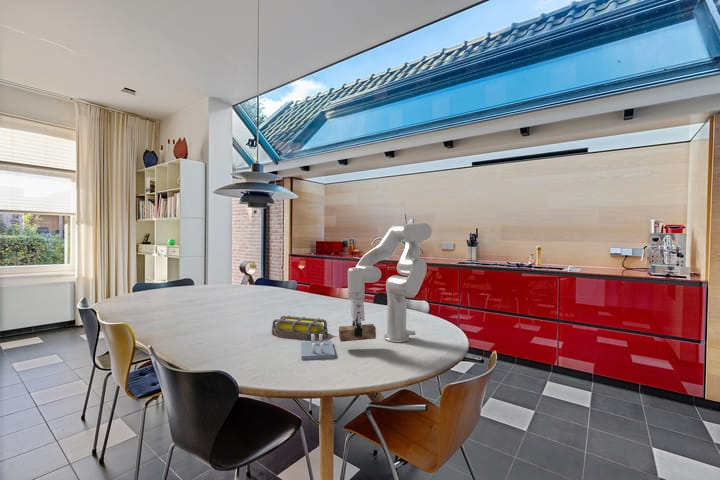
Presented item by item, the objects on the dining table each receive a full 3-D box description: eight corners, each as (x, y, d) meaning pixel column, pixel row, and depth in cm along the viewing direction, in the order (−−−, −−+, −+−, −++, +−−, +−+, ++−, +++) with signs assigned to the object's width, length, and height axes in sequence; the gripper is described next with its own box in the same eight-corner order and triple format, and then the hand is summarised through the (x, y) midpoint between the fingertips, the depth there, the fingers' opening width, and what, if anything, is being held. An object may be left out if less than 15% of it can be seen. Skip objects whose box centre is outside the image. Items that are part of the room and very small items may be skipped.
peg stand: (331, 343, 156) (331, 332, 155) (335, 358, 138) (335, 345, 138) (301, 345, 153) (301, 333, 153) (301, 359, 135) (301, 346, 135)
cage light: (280, 313, 181) (331, 318, 172) (280, 328, 181) (331, 333, 173) (266, 320, 166) (321, 325, 158) (266, 336, 167) (320, 342, 159)
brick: (373, 334, 153) (372, 323, 153) (375, 338, 148) (375, 327, 147) (339, 337, 151) (338, 326, 150) (340, 341, 145) (340, 330, 144)
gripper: (368, 298, 140) (369, 339, 141) (361, 290, 157) (361, 327, 158) (351, 299, 139) (351, 341, 140) (345, 291, 156) (346, 328, 157)
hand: (357, 333), depth 149 cm, fingers closed on brick, 6 cm apart
